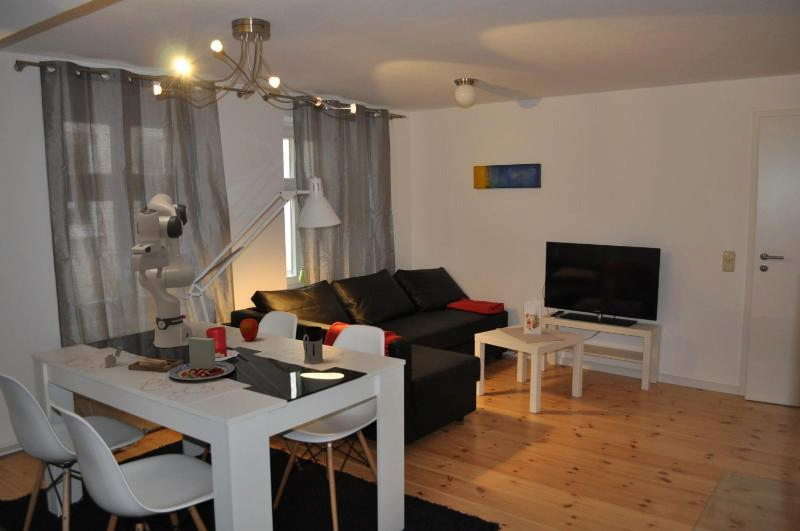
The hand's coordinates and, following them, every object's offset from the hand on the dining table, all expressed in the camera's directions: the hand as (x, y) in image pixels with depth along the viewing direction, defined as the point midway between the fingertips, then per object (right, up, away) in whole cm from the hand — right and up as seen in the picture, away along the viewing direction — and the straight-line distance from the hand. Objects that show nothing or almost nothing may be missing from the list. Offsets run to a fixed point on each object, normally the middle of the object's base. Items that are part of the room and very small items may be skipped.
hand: (151, 279), depth 270 cm
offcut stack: (+3, -38, -5) cm, 38 cm away
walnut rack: (+3, -37, -3) cm, 38 cm away
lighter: (-16, -37, -1) cm, 41 cm away
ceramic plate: (+26, -39, -14) cm, 49 cm away
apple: (+32, -32, +44) cm, 63 cm away
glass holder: (+69, -37, +1) cm, 78 cm away
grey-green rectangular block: (+26, -36, -14) cm, 46 cm away
